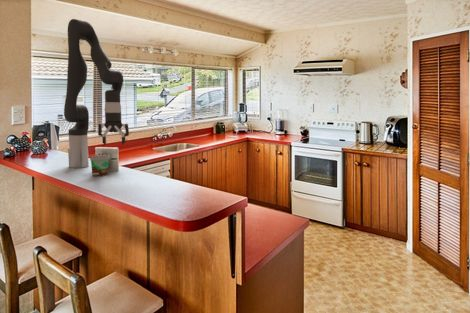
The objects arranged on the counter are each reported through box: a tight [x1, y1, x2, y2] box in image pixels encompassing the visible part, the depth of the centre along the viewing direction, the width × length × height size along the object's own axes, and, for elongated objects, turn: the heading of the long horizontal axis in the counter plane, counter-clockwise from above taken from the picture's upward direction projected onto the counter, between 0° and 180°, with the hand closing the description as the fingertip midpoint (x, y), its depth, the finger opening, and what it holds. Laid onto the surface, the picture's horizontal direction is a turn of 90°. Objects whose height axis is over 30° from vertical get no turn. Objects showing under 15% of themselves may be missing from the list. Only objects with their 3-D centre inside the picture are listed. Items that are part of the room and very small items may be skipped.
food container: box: [89, 153, 110, 177], centre depth 175 cm, size 12×6×10 cm, turn 172°
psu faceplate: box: [94, 146, 120, 172], centre depth 184 cm, size 11×2×12 cm, turn 100°
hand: (114, 144), depth 178 cm, fingers open, 8 cm apart
